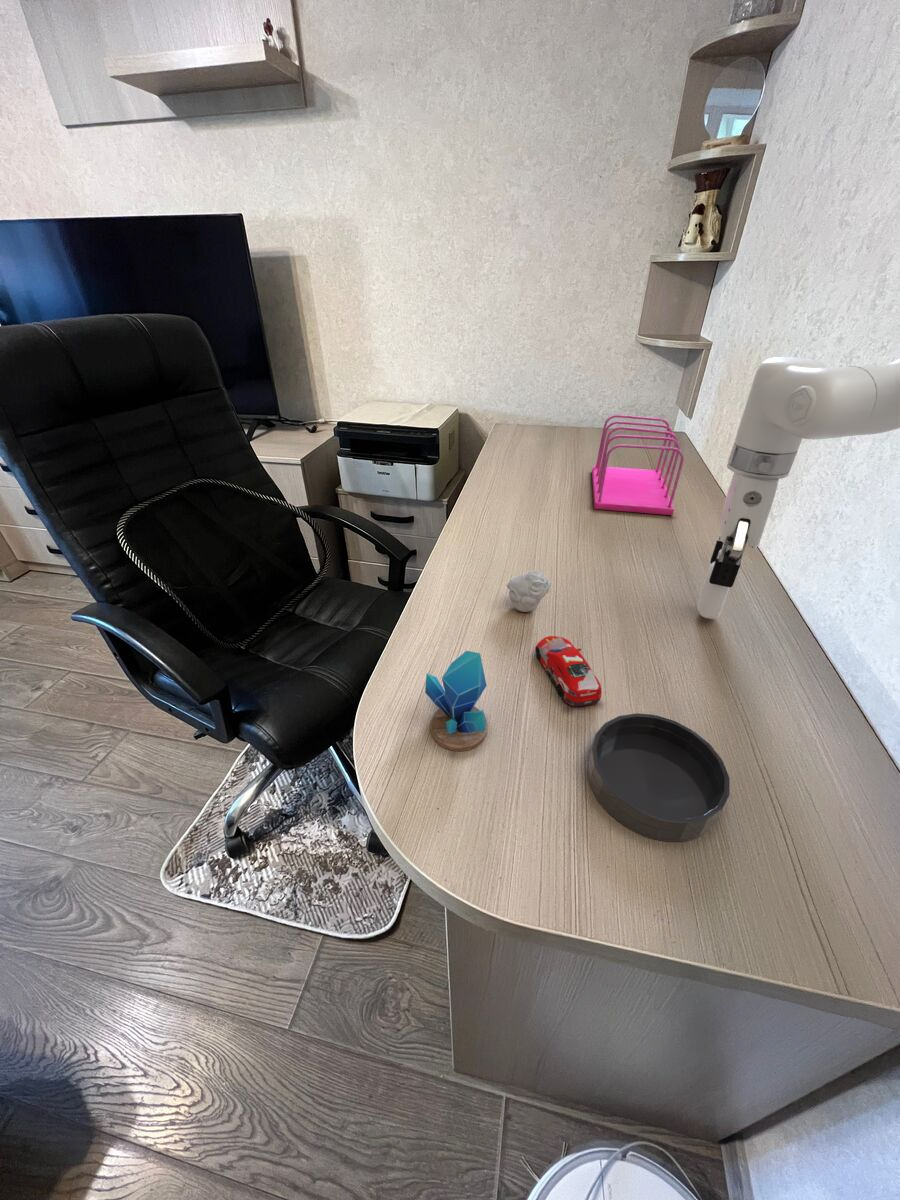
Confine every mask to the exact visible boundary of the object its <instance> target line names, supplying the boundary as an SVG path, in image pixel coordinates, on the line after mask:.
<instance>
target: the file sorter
mask: <svg viewBox="0 0 900 1200" xmlns="http://www.w3.org/2000/svg"><path fill="white" fill-rule="evenodd" d="M614 418H622V419H633V420H646V421H657V422H663V424H657V423H648V422H647V423H646V422H637V421H636V422H634V421H621V420H619V421H618V420H616V421H612V422H611V423H609V421H611V420H612V419H614ZM608 423H609V424H608ZM618 424H619V425H631V426H641V427H643V426H644V427H652V428H661V429H662V428H663V429H666V430H658V429H649V428H640V427H630V426H615V427H614V428H612V429H611V430H609V428H611V427H612V426H613V425H618ZM619 430H623V431H624V430H626V431H635V432H645V433H653V434H662V435H665V436H651V435H650V436H649V435H633V434H632V435H630V434H617V435H616V434H615V435H613V436H611V435H612V434H613V433H614V432H616V431H619ZM608 431H609V432H608ZM615 439H637V440H638V439H640V440H655V441H663V444H662V446H658V445H641V444H625V443H624V444H622V443H621V444H620V443H619V444H615V445H613V446H611V448H609V445H610V443H611V442H612V441H613V440H615ZM667 442H668V444H667ZM672 442H673V443H674V446H673V447H672ZM666 445H667V446H666ZM619 448H627V449H629V448H630V449H643V450H644V449H646V450H661V451H660V454H659V459H658V462H657V466H656V469H645V468H629V467H617V466H608V463H609V457H610V454H611V453H612V452H613V451H614V450H615V449H619ZM608 449H609V450H608ZM665 451H666V452H665ZM670 451H672V452H671V456H670V459H669V462H668V465H667V468H666V472H665V475H664V478H663V474H664V470H665V467H666V463H667V460H668V456H669V452H670ZM664 452H665V453H664ZM664 454H665V455H664ZM663 456H664V458H663ZM679 456H680V461H679V465H678V469H677V473H676V477H675V480H674V484H673V487H672V491H671V495H670V493H669V492H670V488H671V485H672V481H673V477H674V474H675V470H676V466H677V463H678V459H679ZM662 458H663V462H662ZM684 459H685V457H684V454H683V452H682V451H681V445H680V443H679V440H678V438H677V435H676V434H675V433H674V432H673V430H672V429H671V427H670V424H669V422H668V421H667V420H666V419H664V418H658V417H649V416H648V417H646V416H636V415H626V414H613V415H611V416H609V417H608V418H607V419H606V420H605V422H604V424H603V428H602V434H601V438H600V443H599V447H598V453H597V459H596V465H592V469H591V476H592V494H593V509H595V510H604V511H616V512H619V511H620V512H629V513H640V514H652V515H653V514H655V515H665V516H673V515H674V511H675V507H674V505H673V500H674V498H675V494H676V490H677V487H678V483H679V479H680V476H681V473H682V468H683V466H684V465H683V464H684V461H685V460H684ZM661 462H662V465H661ZM660 466H661V469H660ZM671 467H672V468H671ZM670 471H671V472H670ZM669 474H670V476H669ZM668 477H669V479H668ZM667 480H668V483H667ZM666 483H667V486H666Z"/></svg>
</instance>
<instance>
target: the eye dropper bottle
mask: <svg viewBox="0 0 900 1200" xmlns="http://www.w3.org/2000/svg"><path fill="white" fill-rule="evenodd" d="M731 547H732V546H729V545H728V546H727V549H726V552H727V550H730V549H731ZM720 553H721V550H720V551H719V553H718V556H717V559H719V556H720ZM714 564H715V562H713V563H712V564H711V563H710V565H709V568H708V570H707V573H706V576H705V579H704V582H703V585H702V588H701V590H700V594H699V597H698V600H697V604H696V609H697V611H698V614H700V616H701V617H702V618H705V619H710V620H717V619H719V618H720V616H721V613H722V611H723V608H724V605H725V603H726V600H727V597H728V593H729V592H730V588H731V587H725V586H720V585H715V584H711V583H710V582H709V579H710V576H711V573H712V570H713V567H714Z"/></svg>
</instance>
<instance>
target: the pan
mask: <svg viewBox="0 0 900 1200" xmlns="http://www.w3.org/2000/svg"><path fill="white" fill-rule="evenodd" d="M594 735H595V736H594V738H593V743H592V746H591V750H590V754H589V758H588V762H587V778H588V782H589V785H590V788H591V790H592V793H593V795H594V796H595V798H596V800H597V801H598V803H599V804H600V805H601V806H602V808H603V809H604V810H605V812H607V813H608V814H609V816H610V817H612V818H613V819H614V820H615V821H617V822H618V823H619V824H621V825H622V826H623V827H625V828H627V829H628V830H630V831H632V832H634V833H636V834H638V835H641V836H642V837H645V838H649V839H652V840H655V841H658V842H659V841H660V842H667V843H681V842H688V841H692V840H695V839H698V838H700V837H702V836H703V835H705V834H706V833H707V832H708V831H710V830H711V829H712V827H714V825H715V824H716V822H717V820H718V819H719V816H720V814H721V813H722V811H723V809H724V807H725V805H726V803H727V801H728V799H729V797H730V793H731V792H730V791H731V789H730V788H731V787H730V783H731V782H730V780H731V778H730V775H729V773H728V770H727V768H726V766H725V762H724V760H723V759H722V757H720V755H719V754H718V752H717V751H716V750H715V749H714V747H713V746H712V744H710V742H708V741H707V740H706V739H704V738H703V737H702V736H701V735H699V734H698V732H696V731H695V730H693V729H691V728H689V727H687V726H686V725H684V724H682V723H680V722H678V721H676V720H674V719H669V718H668V717H663V716H660V715H657V714H650V713H649V714H648V713H637V712H635V713H629V714H623V715H618V716H616V717H614V718H612V719H610V720H608V721H606V722H604V724H603V725H602V726H601V727H600V728H599V730H598V731H597V732H596V733H595V734H594Z"/></svg>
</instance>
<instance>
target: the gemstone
mask: <svg viewBox="0 0 900 1200" xmlns="http://www.w3.org/2000/svg"><path fill="white" fill-rule="evenodd" d="M425 676H426V677H425V688H424V689H425V690H424V693H425V694H426V695H427V697H428V698H429V699H430V700H431V702H433V704H434V705H435V706H436V707H438V709H436V710H435V712H434V713H433V715H432V716H431V719H430V722H429V723H430V724H429V725H430V726H429V727H430V728H429V729H430V734H431V737H432V738H433V740H434V741H435V742H436V743H437V744H438V745H440V746H441V747H442V748H445V749H447V750H450V751H454V752H455V751H457V752H458V751H459V752H463V751H468V750H472V749H474V748H476V747H478V746H480V745H481V744H482V742H483V741H484V740H485V738H486V737H487V734H488V727H489V726H488V720H487V717H486V715H485V712H484V709H479V708H478V707H476V704H477V702H478V701H479V699H480V697H481V696H482V694H483V693H484V691H485V690H486V688H487V685H488V684H487V681H486V680H487V679H486V676H485V671H484V666H483V660H482V655H481V652H476V651H471V650H465V651H464V652H463V653H461V654H460V655H459V656H457V658H455V659H454V660H453V661H451V663H450V665H449V666H448V668H447V669H446V671H445V672H444V674H443V675H442V677H441V681H442V684H441V682H440V681H439V679H438V677H437V676H436V675H432V674H430V673H427V672H426V675H425ZM442 685H443V686H442Z"/></svg>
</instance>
